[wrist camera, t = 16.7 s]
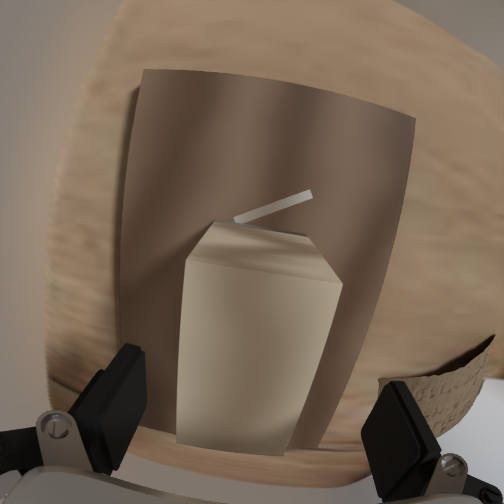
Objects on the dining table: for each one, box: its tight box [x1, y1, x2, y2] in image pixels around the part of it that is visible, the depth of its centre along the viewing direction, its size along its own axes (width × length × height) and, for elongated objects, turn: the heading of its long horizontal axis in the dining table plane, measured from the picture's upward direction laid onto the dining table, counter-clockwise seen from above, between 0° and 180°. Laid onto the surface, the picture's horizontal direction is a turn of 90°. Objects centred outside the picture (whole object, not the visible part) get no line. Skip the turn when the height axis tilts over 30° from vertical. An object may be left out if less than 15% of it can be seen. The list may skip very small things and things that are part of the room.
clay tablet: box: [378, 334, 496, 438], centre depth 21 cm, size 14×10×3 cm
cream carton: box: [176, 219, 343, 456], centre depth 14 cm, size 5×9×8 cm, turn 171°
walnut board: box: [120, 69, 416, 449], centre depth 19 cm, size 16×26×2 cm, turn 171°
